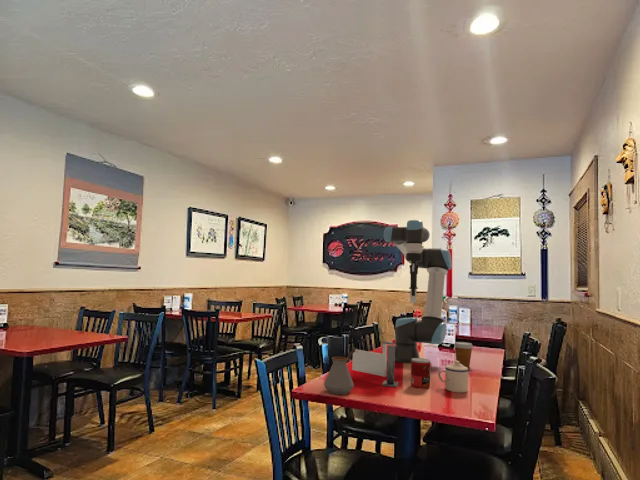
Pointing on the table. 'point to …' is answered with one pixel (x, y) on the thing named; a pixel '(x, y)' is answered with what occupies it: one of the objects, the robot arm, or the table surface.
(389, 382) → the post
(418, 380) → the canned food
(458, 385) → the teacup with lid
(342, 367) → the coffee pot
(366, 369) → the swing panel
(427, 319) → the robot arm
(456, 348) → the disposable coffee cup
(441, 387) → the table surface
